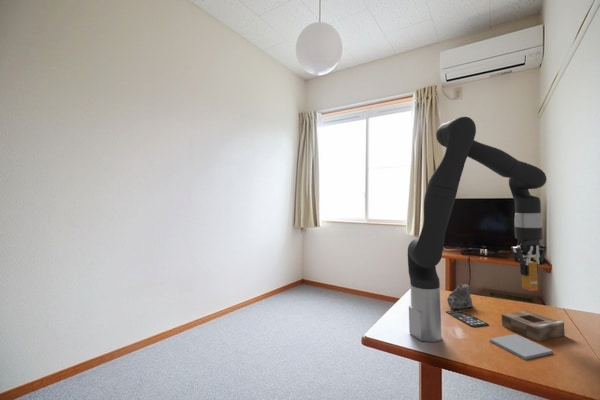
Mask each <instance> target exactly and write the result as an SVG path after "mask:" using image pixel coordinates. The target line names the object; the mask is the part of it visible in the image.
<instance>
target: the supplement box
mask: <svg viewBox="0 0 600 400" xmlns="http://www.w3.org/2000/svg"><path fill="white" fill-rule="evenodd" d="M528 265H529V276H524V275H521V286H522V290H526V291H529V292H536V291H539V284H538V283H539V282H538V275H537V262H533V261H530V260H529V264H528Z"/></svg>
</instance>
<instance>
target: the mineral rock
mask: <svg viewBox="0 0 600 400" xmlns="http://www.w3.org/2000/svg"><path fill="white" fill-rule="evenodd" d="M446 300H447V303H448V306H449V308H452V309H455V310H461V309H462V310H463V309H465V308H469V307H473V299H472V296H471V287H470V285H469V284H465V283H464V284H463V283H458V285H457V287H456V288H455V289H454V290H453V291H452V292H451V293H450V294H448V296H447V299H446Z"/></svg>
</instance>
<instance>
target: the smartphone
mask: <svg viewBox="0 0 600 400" xmlns="http://www.w3.org/2000/svg"><path fill="white" fill-rule="evenodd" d="M445 314H448V315H449V316H450V317H452V318H455V319H456V320H458V321H460V322H462V324H465V325H467V326H469V327H470V328H481V327H482V328H483V327H489V326H490V324H489V323H488V322H485V321H484V320H482V319H479V318H477V317H475V316H473V315H472V314H470V313H467V312H466V311H463V310H461V309H455V310H454V309H453V310H446V311H445Z"/></svg>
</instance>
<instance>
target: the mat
mask: <svg viewBox="0 0 600 400" xmlns="http://www.w3.org/2000/svg"><path fill="white" fill-rule="evenodd" d="M489 342H490V343H492V344H494V345H496V346H498V347H499V348H501V349H504V350H505V351H508V352H510V353H511V354H514V355H516V356H518V357H519V358H521V359H523V360H530V359H533V358H539V357H543V356H547V355H551V354H552V355H553V354H554V350H552V349H550V348H547V347H546V346H544V345H541V344H539V343H538V342H534V341H532V340H531V339H528V338H525V337H524V336H521V335H520V334H517V333H513V334H507V335H502V336H498V337H493V338H492V337H491V338H489Z"/></svg>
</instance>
